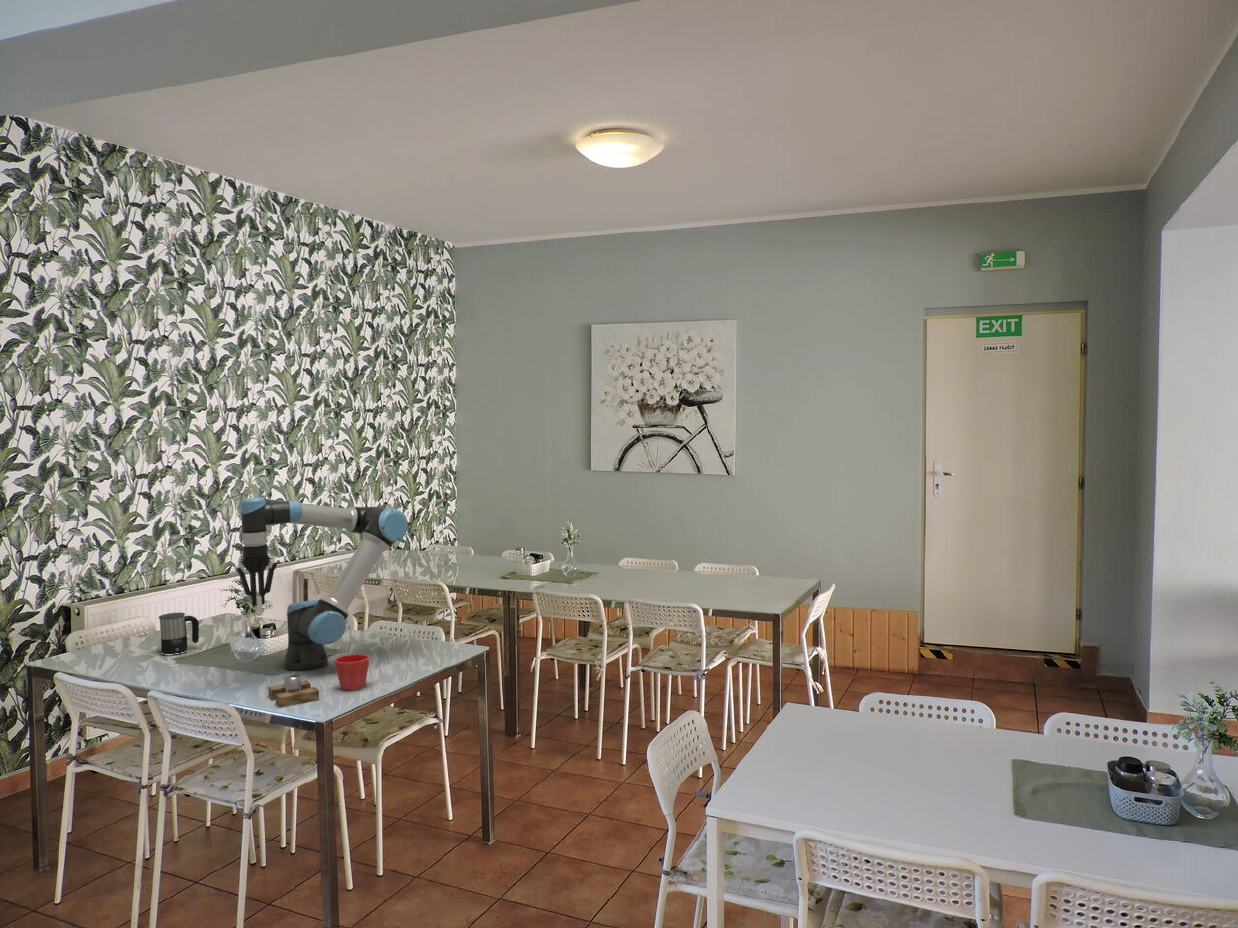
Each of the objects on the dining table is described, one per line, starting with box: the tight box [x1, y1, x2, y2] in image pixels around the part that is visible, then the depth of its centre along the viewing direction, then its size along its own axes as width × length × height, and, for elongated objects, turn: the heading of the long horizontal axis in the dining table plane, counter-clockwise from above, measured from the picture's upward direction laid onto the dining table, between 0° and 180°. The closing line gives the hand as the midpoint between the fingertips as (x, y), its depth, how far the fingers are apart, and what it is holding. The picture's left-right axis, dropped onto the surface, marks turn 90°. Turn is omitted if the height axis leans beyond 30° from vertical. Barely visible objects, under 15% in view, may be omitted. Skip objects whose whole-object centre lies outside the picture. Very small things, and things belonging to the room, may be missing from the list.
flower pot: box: [334, 653, 370, 691], centre depth 292 cm, size 11×11×10 cm
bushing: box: [283, 674, 302, 693], centre depth 281 cm, size 5×5×7 cm
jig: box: [267, 679, 320, 708], centre depth 282 cm, size 12×14×3 cm
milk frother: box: [158, 612, 200, 654], centre depth 344 cm, size 14×16×15 cm
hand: (258, 614), depth 295 cm, fingers closed
